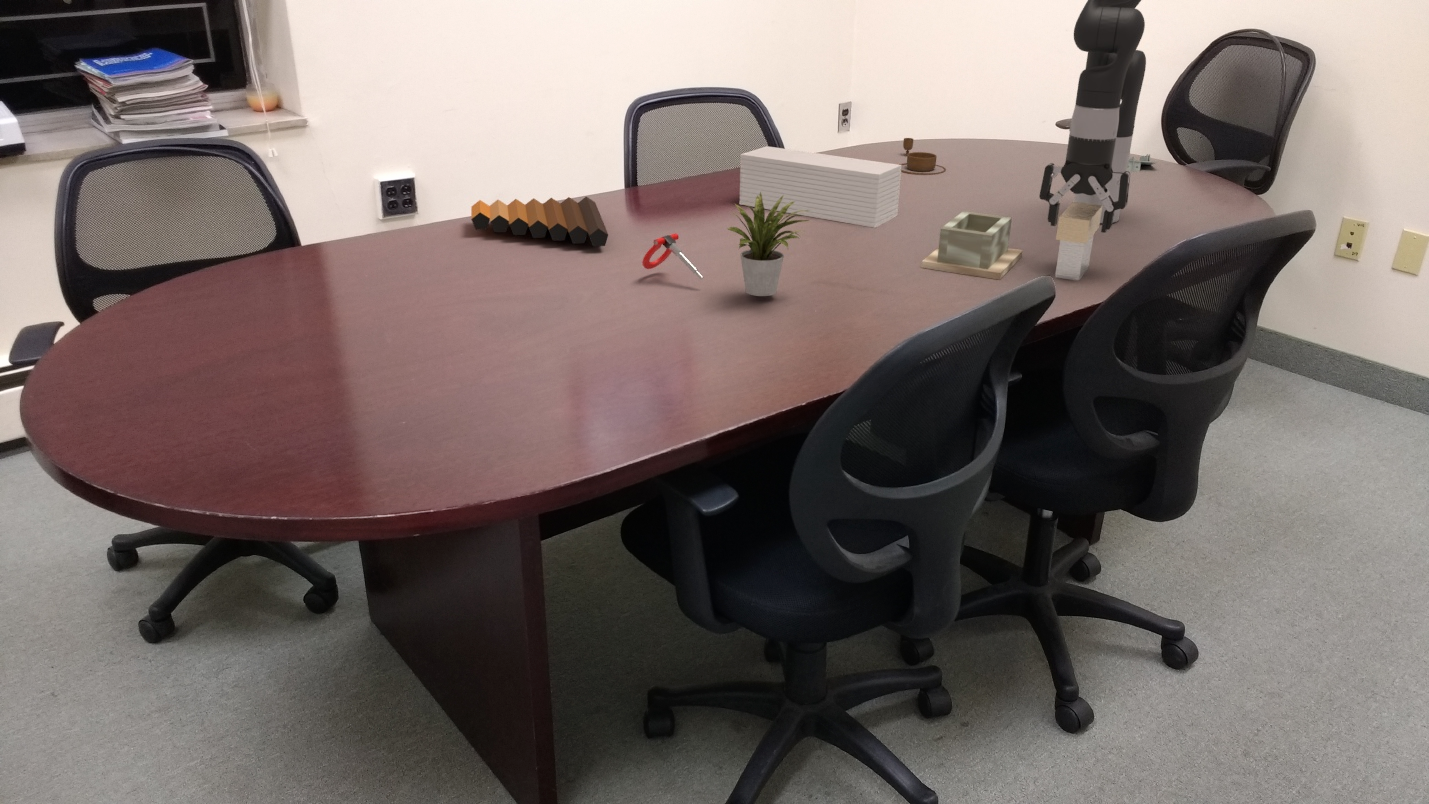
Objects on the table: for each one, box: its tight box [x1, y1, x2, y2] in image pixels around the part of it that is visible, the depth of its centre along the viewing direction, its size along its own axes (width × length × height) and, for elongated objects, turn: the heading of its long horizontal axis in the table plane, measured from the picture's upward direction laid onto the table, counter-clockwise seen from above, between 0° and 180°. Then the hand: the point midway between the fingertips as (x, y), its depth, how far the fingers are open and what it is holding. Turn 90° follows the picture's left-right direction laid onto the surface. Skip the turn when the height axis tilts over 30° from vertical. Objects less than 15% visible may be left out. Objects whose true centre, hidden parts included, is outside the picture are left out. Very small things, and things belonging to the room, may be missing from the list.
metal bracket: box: [1127, 154, 1158, 173], centre depth 269 cm, size 14×6×15 cm
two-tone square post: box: [1054, 201, 1103, 282], centre depth 191 cm, size 12×5×11 cm, turn 152°
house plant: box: [726, 192, 810, 297], centre depth 177 cm, size 14×14×16 cm
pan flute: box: [470, 196, 609, 247], centre depth 213 cm, size 25×3×25 cm
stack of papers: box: [738, 146, 903, 229], centre depth 230 cm, size 32×11×11 cm, turn 57°
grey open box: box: [920, 210, 1023, 281], centre depth 197 cm, size 16×14×7 cm
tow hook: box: [641, 233, 704, 280], centre depth 189 cm, size 7×10×7 cm
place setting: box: [898, 137, 947, 176], centre depth 268 cm, size 18×20×6 cm
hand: (1078, 228), depth 190 cm, fingers open, 8 cm apart
